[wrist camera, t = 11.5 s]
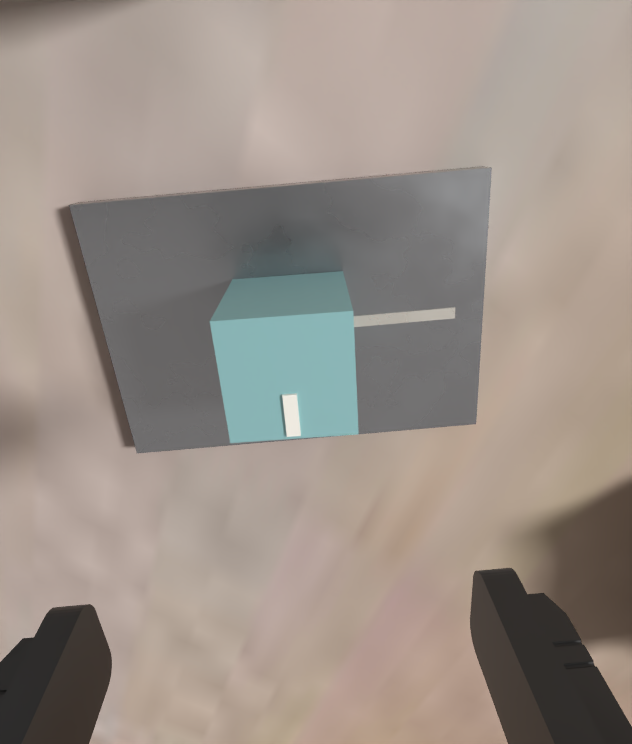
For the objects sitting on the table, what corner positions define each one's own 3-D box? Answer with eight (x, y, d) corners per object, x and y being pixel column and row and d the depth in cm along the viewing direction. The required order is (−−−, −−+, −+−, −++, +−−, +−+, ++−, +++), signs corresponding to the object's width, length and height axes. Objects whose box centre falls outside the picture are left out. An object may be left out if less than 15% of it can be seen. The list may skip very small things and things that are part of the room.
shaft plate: (142, 442, 31) (111, 503, 26) (79, 202, 25) (21, 218, 20) (469, 413, 31) (504, 469, 25) (483, 166, 25) (531, 173, 20)
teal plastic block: (232, 279, 26) (209, 322, 20) (342, 271, 25) (353, 311, 19) (246, 378, 28) (230, 444, 22) (347, 371, 28) (358, 435, 22)
